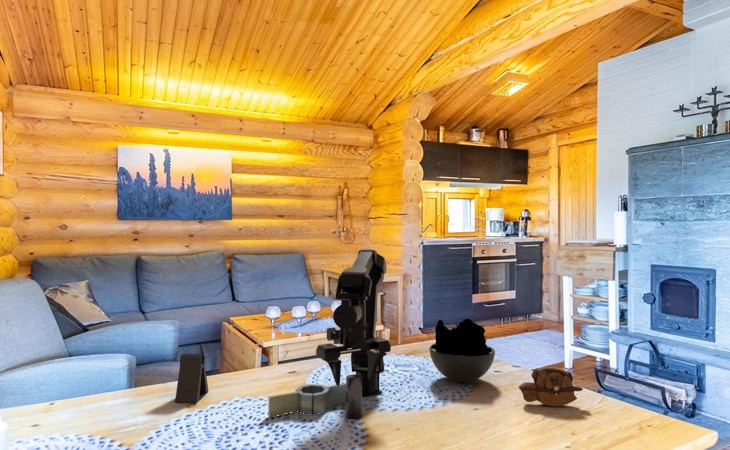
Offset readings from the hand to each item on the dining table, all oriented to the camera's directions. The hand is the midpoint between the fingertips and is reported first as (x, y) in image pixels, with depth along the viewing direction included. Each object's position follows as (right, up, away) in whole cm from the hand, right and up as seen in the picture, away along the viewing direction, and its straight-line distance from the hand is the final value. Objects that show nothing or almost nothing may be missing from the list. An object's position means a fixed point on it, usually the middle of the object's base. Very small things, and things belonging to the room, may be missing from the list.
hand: (354, 382), depth 123 cm
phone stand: (-45, -9, +13) cm, 48 cm away
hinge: (-11, -9, +5) cm, 15 cm away
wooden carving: (+53, -9, +8) cm, 54 cm away
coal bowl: (+33, -9, +29) cm, 45 cm away
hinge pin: (0, -9, 0) cm, 9 cm away
